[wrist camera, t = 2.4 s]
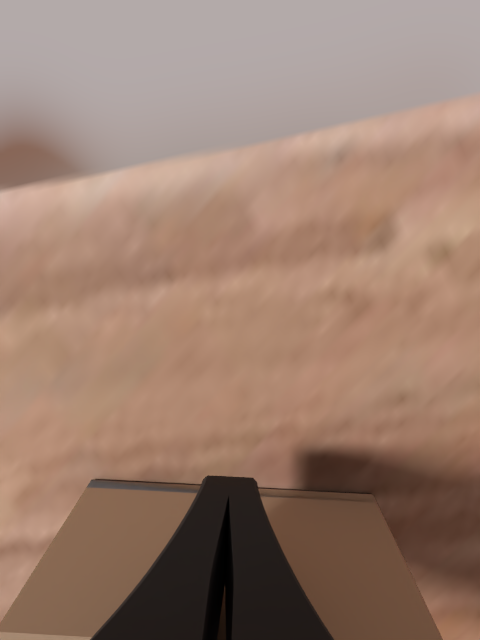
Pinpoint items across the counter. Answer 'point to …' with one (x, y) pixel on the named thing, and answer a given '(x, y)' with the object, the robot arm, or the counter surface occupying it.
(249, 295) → the counter surface
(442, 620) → the counter surface
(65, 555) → the l-shaped bracket
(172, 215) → the counter surface
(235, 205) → the counter surface
